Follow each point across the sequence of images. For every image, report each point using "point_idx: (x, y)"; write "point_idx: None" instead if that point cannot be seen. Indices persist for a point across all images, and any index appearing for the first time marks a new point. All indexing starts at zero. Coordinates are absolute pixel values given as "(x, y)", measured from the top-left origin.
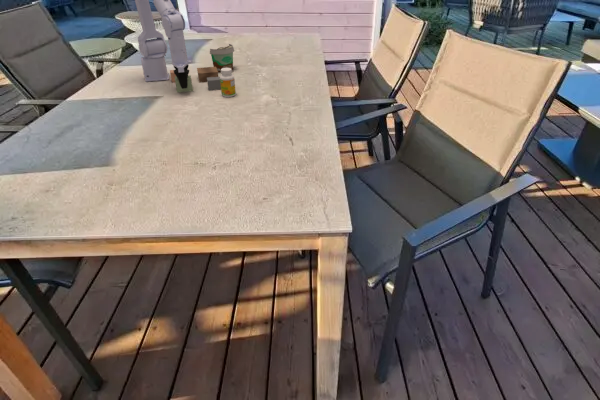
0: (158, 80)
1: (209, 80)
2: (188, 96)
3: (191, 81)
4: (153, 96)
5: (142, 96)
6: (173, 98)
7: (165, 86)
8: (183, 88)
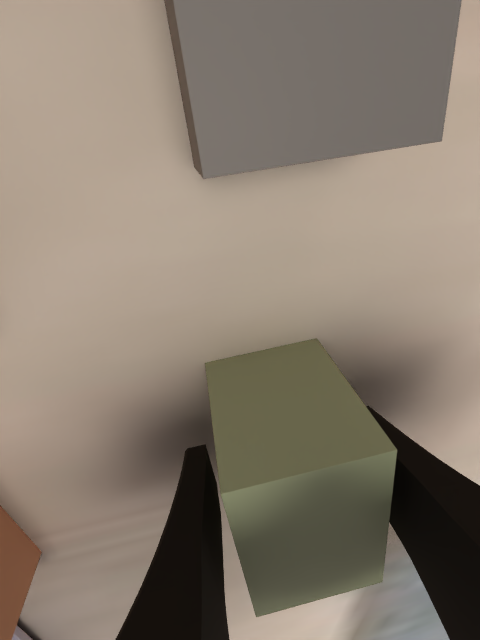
0: (23, 631)
1: (445, 83)
2: (460, 349)
3: (368, 413)
4: None
5: None
6: (455, 441)
7: None
8: None
